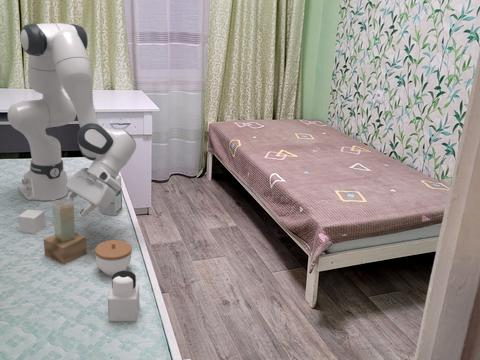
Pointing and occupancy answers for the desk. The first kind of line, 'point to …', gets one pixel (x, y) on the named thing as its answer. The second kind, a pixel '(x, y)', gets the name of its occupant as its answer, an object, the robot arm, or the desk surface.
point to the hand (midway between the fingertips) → (74, 210)
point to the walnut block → (65, 248)
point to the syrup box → (115, 202)
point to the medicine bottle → (123, 297)
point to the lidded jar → (113, 256)
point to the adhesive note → (31, 221)
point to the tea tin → (64, 220)
